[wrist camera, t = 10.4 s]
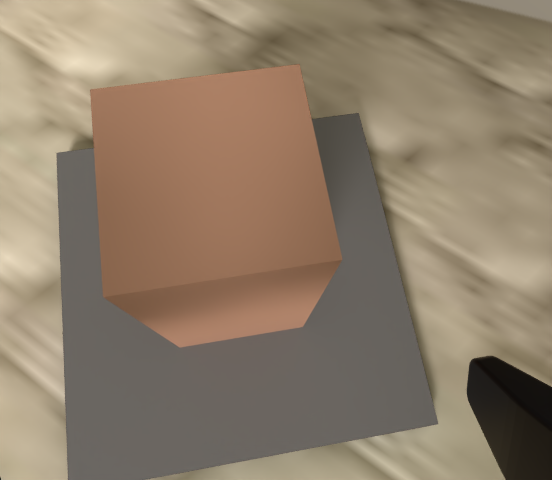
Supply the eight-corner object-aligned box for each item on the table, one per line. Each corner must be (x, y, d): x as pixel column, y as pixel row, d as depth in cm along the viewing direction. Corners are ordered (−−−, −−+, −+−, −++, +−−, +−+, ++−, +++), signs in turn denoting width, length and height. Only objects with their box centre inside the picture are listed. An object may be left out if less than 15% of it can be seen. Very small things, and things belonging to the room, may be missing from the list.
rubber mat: (429, 423, 20) (438, 424, 19) (78, 489, 19) (68, 494, 18) (354, 124, 24) (358, 112, 23) (64, 163, 23) (56, 153, 22)
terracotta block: (302, 326, 20) (342, 259, 10) (179, 347, 19) (102, 297, 10) (281, 213, 21) (299, 63, 12) (167, 230, 21) (89, 89, 11)
